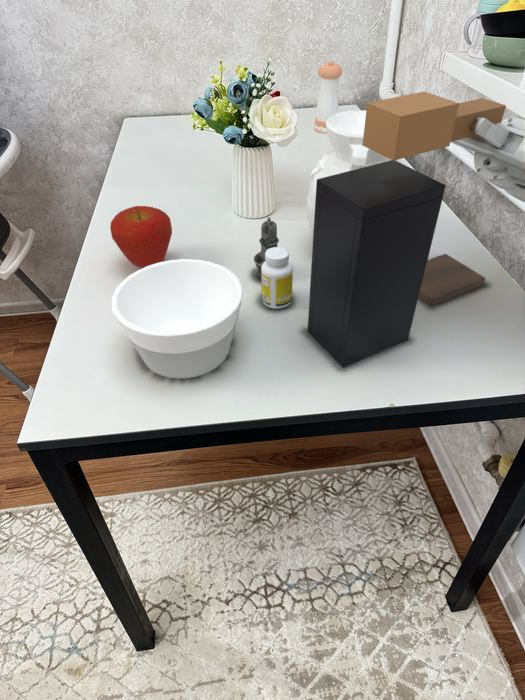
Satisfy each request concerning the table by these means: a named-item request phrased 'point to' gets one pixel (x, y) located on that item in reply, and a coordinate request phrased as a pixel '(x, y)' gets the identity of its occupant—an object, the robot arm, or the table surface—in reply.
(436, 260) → the board
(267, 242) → the dark grey tall piece
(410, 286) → the tall black box
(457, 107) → the brown stepped block
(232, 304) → the bowl
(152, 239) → the apple
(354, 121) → the pitcher
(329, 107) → the salt shaker
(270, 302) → the supplement bottle
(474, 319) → the table surface
